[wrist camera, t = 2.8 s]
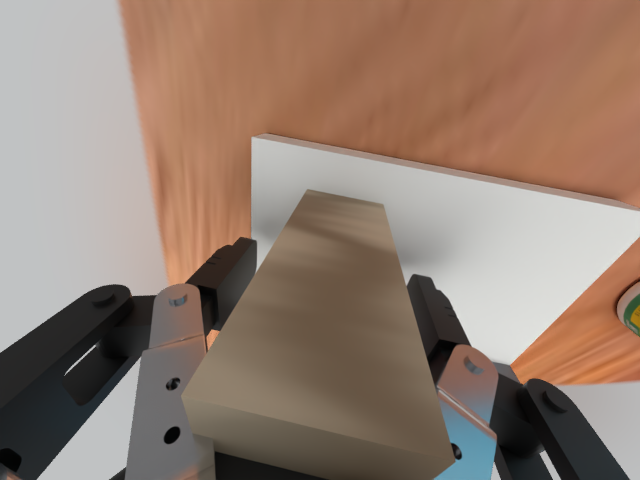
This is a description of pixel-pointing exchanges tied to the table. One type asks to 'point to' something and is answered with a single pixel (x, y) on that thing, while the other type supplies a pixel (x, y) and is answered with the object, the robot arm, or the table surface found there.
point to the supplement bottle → (630, 309)
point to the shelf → (458, 233)
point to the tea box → (324, 357)
